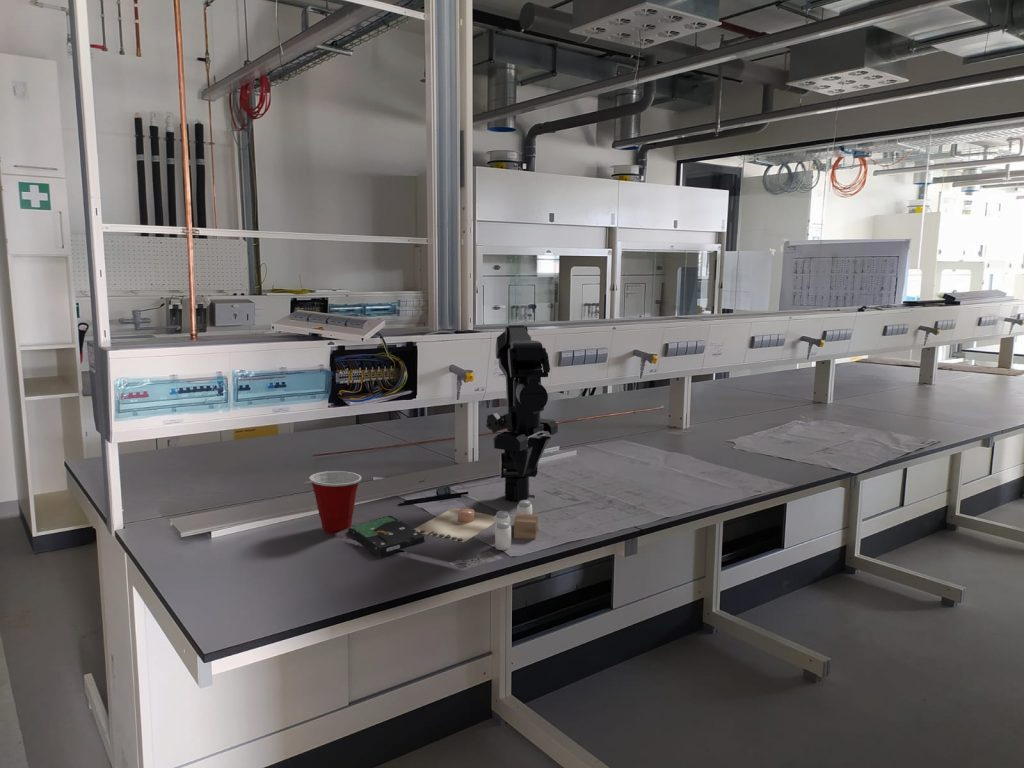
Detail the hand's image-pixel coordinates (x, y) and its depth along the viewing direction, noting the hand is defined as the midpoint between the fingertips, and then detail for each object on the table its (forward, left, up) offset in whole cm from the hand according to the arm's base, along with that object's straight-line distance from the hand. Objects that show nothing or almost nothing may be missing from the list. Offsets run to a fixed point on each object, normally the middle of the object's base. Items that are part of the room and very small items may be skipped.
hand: (526, 472), depth 155 cm
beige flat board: (+8, -13, -12) cm, 19 cm away
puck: (+5, -12, -11) cm, 18 cm away
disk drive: (+21, -22, -13) cm, 33 cm away
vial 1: (+9, -1, -12) cm, 15 cm away
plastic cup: (+21, -35, -12) cm, 43 cm away
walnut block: (+6, +3, -12) cm, 14 cm away
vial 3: (+1, 0, -12) cm, 12 cm away
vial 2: (+14, +2, -12) cm, 19 cm away
